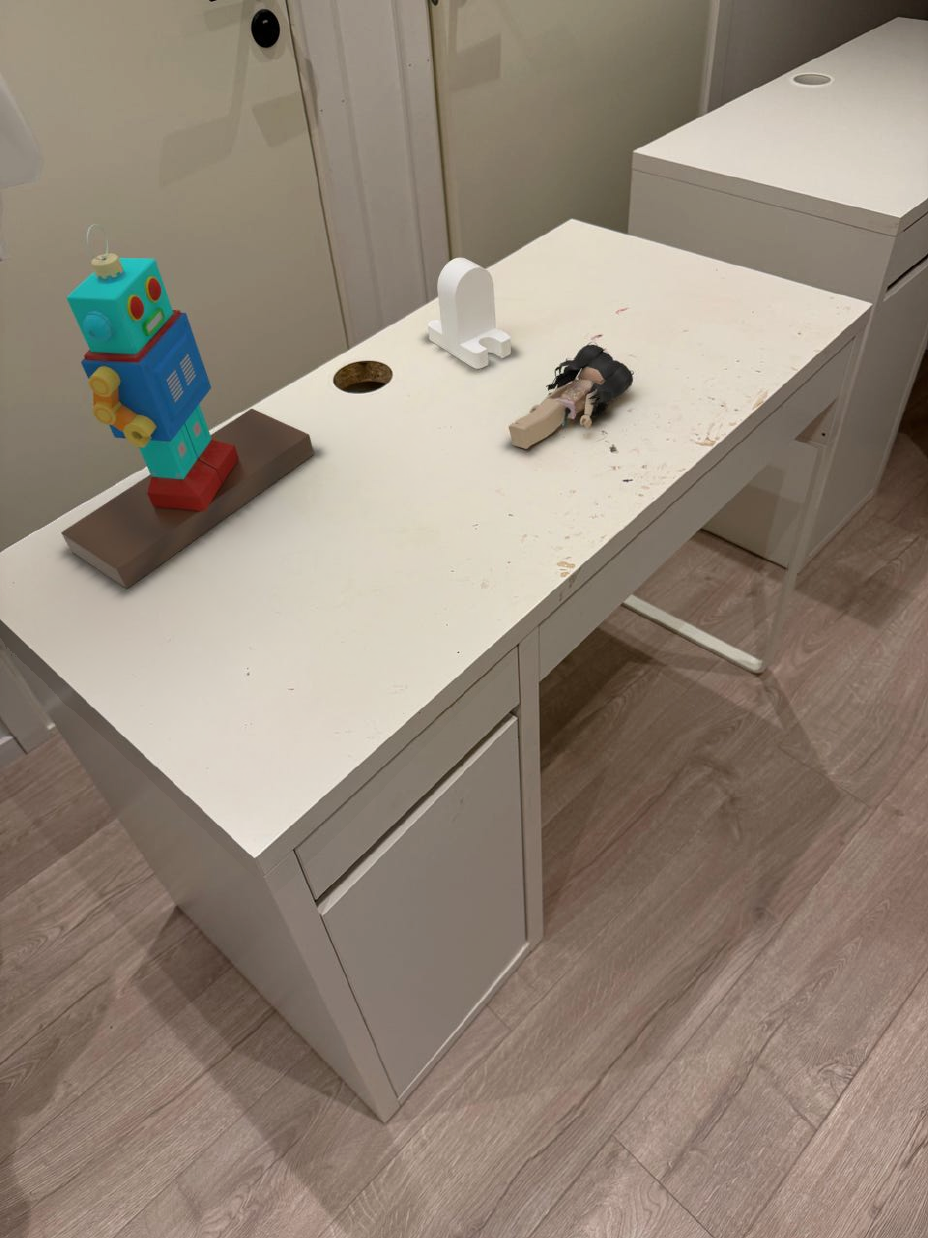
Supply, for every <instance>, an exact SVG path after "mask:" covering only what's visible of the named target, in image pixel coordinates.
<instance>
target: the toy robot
mask: <svg viewBox="0 0 928 1238" xmlns="http://www.w3.org/2000/svg"><path fill="white" fill-rule="evenodd" d="M95 226H96V227H98V228H99V229H100V230H101V231H102V233H103V234H104V236H105V241H106V250H105V251H106V252H105V253H102V254H99V255H97V256H95V255H94V253H93V251H92V249H91V247H90V243H89V242H90V241H89V235H90V231H91V229H92V228H93V227H95ZM86 232H87V233H86V245H87V248H88V251H89V253H90V255H91V256H92V257H93V259H92V260H91V261H90V262H91V267H92V270H93V272H92V273H91V274H90V275H88V276H87V277H86V279H84V280H83V281H82V282H81V283H80V284H79V285H78V286H77V287H76V288H74V289H73V291H71V292H69V294H68V295H67V296H66V301H67V303H68V305H69V308H70V310H71V312H72V314H73V316H74V319H75V320H76V323H77V325H78V327H79V329H80V332H81V334H82V336H83V338H84V340H85V342H86V345H87V347H88V349H89V350H87V352H86V353H84V354H83V357H84V358H82V360H81V361H80V363H81V366H82V368H83V371H84V372H85V375H86V377H87V379H88V381H87V384H88V386H89V388H90V389H91V391H92V400H93V401H92V403H93V404H92V405H93V407H92V409H91V410H92V415H93V417H95V419H96V421H98V422H100V423H102V424H103V425H105V426H106V425H107V426H109V428H110V430H111V433H112V435H113V437H114V438H115V439H124V440H125V439H126V440H127V441H128V442H129V443H130V444H132V445H133V446H135V447H138V450H139V452H140V454H141V456H142V459H143V461H144V463H145V466H146V467H147V470H148V472H149V475H151V481H150V484H149V488H148V491H147V494H148V496H149V499H150V501H151V503H152V505H153V507H161V508H172V509H182V510H193V511H204V512H205V510H206V509H207V507H208V506H209V504H210V503H211V501H212V500H213V498H214V497H215V495H216V493H217V492H218V490H219V489H220V487H221V486H222V484H223V483H224V481H225V480H226V478H227V477H228V475H229V474H230V472H231V471H232V469H233V468H234V466H235V465H236V463H237V461H238V460H239V457H238V454H237V451H236V448H235V446H234V445H232V444H228V443H224V442H220V441H216V440H212V438H211V435H212V434H211V432H210V429H209V427H208V424H207V421H206V419H205V416H204V413H203V410H202V407H201V405H200V403H201V402H202V401H203V400H204V398H205V397H206V396H207V394H208V393H209V392H210V391H211V389H212V385H211V382H210V380H209V377H208V374H207V370H206V368H205V367H206V364H205V362H204V360H203V359H202V356H201V353H200V349H199V347H198V343H197V340H196V338H195V335H194V333H193V329H192V325H191V324H190V323H191V322H190V321H189V318H188V314H187V312H181V310H179V309H173V307H172V304H171V301H170V299H169V295H168V292H167V289H166V286H165V284H164V281H163V276H162V275H161V272H160V267H159V265H158V262H157V260H156V259H155V258H141V257H140V258H139V257H137V258H136V257H135V258H134V257H132V258H131V257H119V256H118V255H117V254H115V253H109V246H110V245H109V239H108V236H107V232H106V231H105V230H104V228H103V226H101V225H99V224H97V223H93V224H92V225H90V226H89V227H88V229H87V231H86Z"/></svg>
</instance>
